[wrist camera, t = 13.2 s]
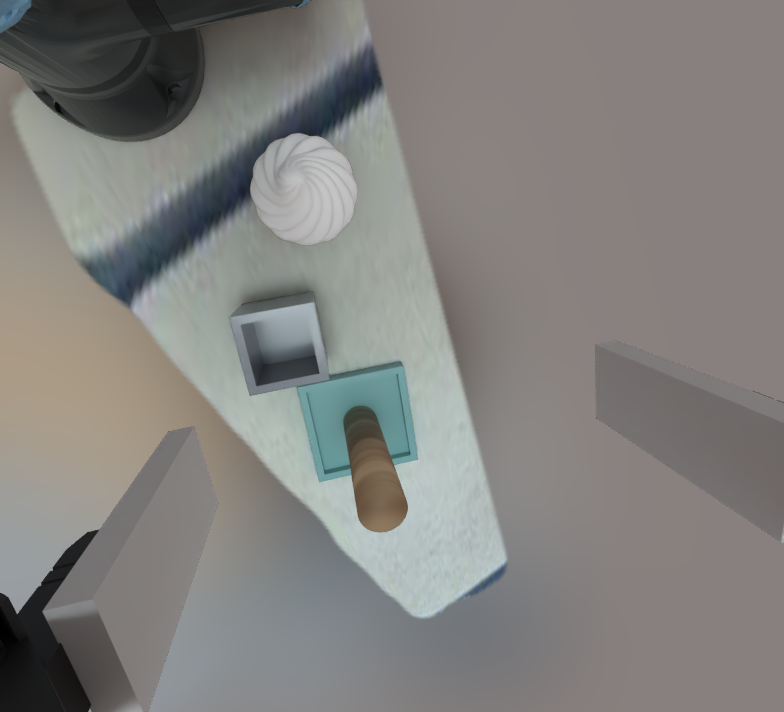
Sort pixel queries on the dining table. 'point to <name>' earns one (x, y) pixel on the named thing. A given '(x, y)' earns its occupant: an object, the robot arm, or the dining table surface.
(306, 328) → the open box
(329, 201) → the soft serve ice cream cone
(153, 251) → the dining table surface
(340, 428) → the tray
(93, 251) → the dining table surface
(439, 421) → the dining table surface
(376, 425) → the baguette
